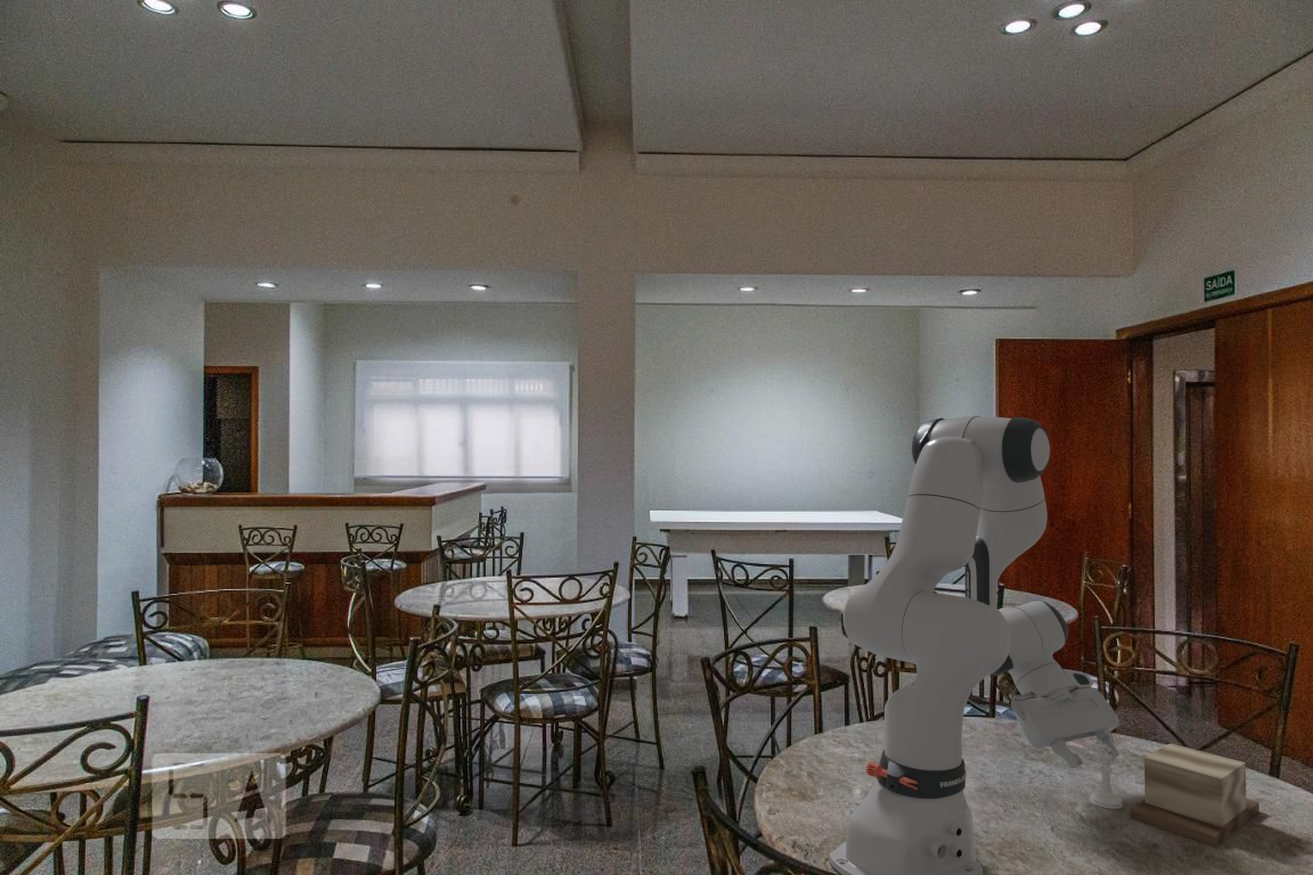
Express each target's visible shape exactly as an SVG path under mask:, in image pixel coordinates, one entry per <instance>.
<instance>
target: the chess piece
mask: <svg viewBox="0 0 1313 875" xmlns="http://www.w3.org/2000/svg"><path fill="white" fill-rule="evenodd" d="M1099 750H1100V751H1102V750H1103V751H1104V753H1103V752H1102V753H1098V757H1099V759H1100V763H1101V766H1099V767H1098V770H1099V771H1100V772H1102V775H1101V776H1102V777H1101V784H1100V790H1098V792H1092V793H1091V794H1090V796H1089V797H1090V798H1089V801H1090V802H1091V803H1092V804H1094V805H1096V806H1098V807H1101V808H1105V809H1110V810H1113V809H1114V810H1116V809H1122V808H1123V807H1124V805H1123V800H1122V799H1121V798H1120V797H1118V796H1117V795H1115V794H1114V792H1113V791H1112V787H1111V786H1112V785H1111V780H1110V774H1111V773H1114V770H1113V769H1112V768H1111V767H1110V765H1111V762H1112V761H1113V759H1112V756H1111V755H1110V754H1108V753H1107V751H1111V748H1109V747H1107V744H1104V746H1099Z"/></svg>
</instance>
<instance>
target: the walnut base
mask: <svg viewBox="0 0 1313 875" xmlns="http://www.w3.org/2000/svg"><path fill="white" fill-rule="evenodd" d="M1143 768H1144V799H1143V800H1142V801H1140V802H1139V803H1137V804H1136V805H1134V806H1132V807H1130V808H1129V809H1130V810H1129V811H1130V812H1129V815H1130V816H1129V818H1130V819H1132V820H1134V821H1138V822H1141V823H1144V824H1147V825H1150V826H1153V827H1156V828H1158V829H1162V830H1165V831H1167V832H1171V833H1174V834H1176V835H1179V836H1182V837H1185V838H1188V839H1191V840H1194V841H1197V842H1199V843H1202V844H1206V845H1208V846H1211V847H1215V848H1217V847H1218V846H1219V845H1220V844H1221V843H1223V842H1224V841H1225V840H1226V839H1228V838H1229V837H1230V836H1231V835H1232V834H1234V832H1236V831H1237V830H1238V829H1240V828H1241V827H1242V826H1243V825H1244V824H1245V823H1247V822H1248V821H1249V820H1250V819H1252V818H1253V817H1254V816H1255V815H1257V814H1258V813H1259V812H1260V801H1256V800H1252V799H1249V798H1247V780H1246V779H1247V778H1246V777H1247V774H1246V773H1247V772H1246V770H1247V769H1246V762H1244V761H1241V760H1237V759H1234V758H1233V759H1232V758H1230V757H1224V756H1221V755H1219V754H1215V753H1211V752H1207V751H1201V750H1198V749H1195V748H1192V747H1191V748H1190V747H1187V746H1183V745H1179V744H1176V743H1171V742H1170V743H1169V744H1167V745H1164V746H1163V747H1161V748H1159V749H1157V750H1156V751H1154V752H1152V753H1150V754H1148V755H1146V756H1145V757H1144V766H1143ZM1256 813H1257V814H1256Z"/></svg>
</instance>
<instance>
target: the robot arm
mask: <svg viewBox="0 0 1313 875" xmlns="http://www.w3.org/2000/svg"><path fill="white" fill-rule="evenodd" d="M1050 444H1051V442H1050V438H1049V435H1048V432H1047V430H1046V429H1045V428H1044V427H1043V425H1042V424H1040V423H1039V422H1038V421H1037V420H1035V419H1031V418H1027V417H1020V416H1014V417H1011V418H1009V417H1000V416H980V415H970V416H960V417H959V416H958V417H951V418H947V419H946V418H943V417H941V418H935V419H931V420H928V421H925V422H923V423H922V424H921V425H920V426H919V427H918V428H917V430H916V431H915V433H914V435H913V437H912V442H911V455H912V460H913V462H914V464H915V466H914V469H913V470H912V471H913V472H912V475H911V478H910V482H909V485H908V489H907V490H908V491H907V494H906V501H905V505H904V511H903V516H902V521H901V524H900V529H899V534H898V536H897V541H896V544H895V546H894V549H893V551H892V553H891V554H890V557H888V560H887V561H886V563H885V564H884V565H883V567H882V568H881V570H880V571H879V572H878V573H877V574H876V575H875V576H874V577H873V578H872V579H871V580H869V581H868V582H867V583H866V584H864V585H862V586H861V587H859V588H857V589H855V590H854V591H853V592H852V593H851V595H850V596H849V597H848V599H847V600H846V603H845V606H844V609H843V612H842V622H843V628H844V631H845V634H846V636H847V637H848V640H849V641H850V642H851V643H852V644H854V645H855V646H857V647H859V648H860V649H863V650H865V651H867V652H869V653H872V654H874V655H876V656H879V657H883V658H889V659H892V660H897V661H902V662H907V663H911V664H914V665H915V666H916V676H915V680H914V683H913V684H910V685H907V686H904V687H902V688H899V689H897V690H895V691H894V692H893V693H892V694H891V695H890V696H889V697H888V699H887V701H886V703H885V704H884V749H883V750H882V753H881V756H880V758H879V763H876V762H874V761H869V762H867V765H866V766H865V773H866V775H867V776H869V777H873V778H876V779H877V780H876V782H875V784H874V785H873V786H872V788H871V789H870V790H869V791H868V794H866V796H865V797H864V798H863V800H862V802H861V803H860V804H859V806H858V807H857V808H856V809H855V811H854V812H853V814H852V815H851V817H850V818H849V820H848V823H847V828H846V829H847V830H846V838H845V841H844V842H843V843H841V844H840V845H838V846H837V847H836V848H835V849H834V850H832V851H831V852H830V853H829V856H828V857H829V858H828V861H829V863H830V865H831V866H832V867H833V868H834V869H835V871H836V872H838V873H839V874H841V875H984V869H983V868H984V867H983V866H982V865H981V864H980V862H979V861H978V860H977V854H976V852H977V851H976V843H975V833H974V822H973V815H972V812H971V809H970V807H969V805H968V802H967V799H966V797H965V794H964V789H965V788H966V777H967V771H966V763H965V760H964V759H963V756H962V755H963V751H962V749H963V725H964V724H963V722H964V714H965V708H966V706H967V702H968V700H969V698H970V695H971V694H972V692H973V691H974V689H975V688H976V687H977V685H978V684H980V682H981V681H983V680H984V679H986V678H987V677H989V675H993V676H1000V675H1003V674H1004V673H1007V672H1008V674H1009V675H1010V676H1011V677H1012V680H1013V683H1014V686H1015V687H1016V688H1017V691H1019V693H1020V694H1015V695H1013V696H1012V699H1011V701H1010V702H1011V703H1010V707H1011V708H1012V710H1013V711H1014V713H1015V717H1016V719H1017V722H1018V724H1019V726H1020V729H1021V730H1022V732H1023V733H1024V734H1023V735H1024V736H1025V737H1026V740H1027V741H1028V742H1029V743H1030V745H1032V746H1033V747H1035V748H1036V749H1040V748H1044V747H1049V746H1050V748H1051V749H1052V750H1053V752H1054V753H1056V754H1057V755H1058V756H1060V757H1061V758H1062V759H1063V760H1065V762H1066V763H1067V764H1068V766H1069V767H1070V768H1071V769H1075V768H1079V767H1080V766H1082V765H1083V764H1084V762H1083V760H1082V758H1081V757H1080V755H1079V754H1078V752H1077V753H1074V752H1073V751H1072V750H1070V748H1068V746H1066V745H1067V743H1068V742H1069V743H1070V742H1074V741H1077V740H1082V739H1086V738H1091V737H1096V738H1097V740H1098V741H1099V742H1101V743H1102V745H1103V746H1102V747H1104V744H1107V747H1109V748H1111V751H1107V753H1108V754H1110V755H1111V756H1112V760H1113V759H1116V758H1118V757H1119V756H1120V752H1119V750H1118V749H1117V747H1116V746H1115V741H1114V738H1113V734H1112V733H1111V732H1112V731H1113V730H1115V729H1116V728H1117V727H1119V726H1120V721H1119V720H1120V719H1119V717H1118V715H1117V714H1116V712H1115V710H1114V709H1113V707H1112V706H1111V705H1110V704H1109V702H1108V701H1107V699H1106V698H1105V697H1104V695H1103V694H1102V693H1101V692H1100V691H1099V690H1098V689H1096V688H1094V687H1092V686H1093V685H1094V681H1093V680H1092V679H1091V677H1090V676H1089V675H1087V674H1085V673H1078V672H1074V671H1071V670H1069V669H1063V668H1062V667H1061V665H1060V664H1059V663H1058V662H1057V661H1056V660H1055V659H1054V656H1053V654H1054V653H1056V652H1059V650H1061V649H1062V648H1064V647H1065V645H1066V643H1067V641H1068V637H1069V626H1068V623H1067V621H1066V620H1065V618H1064V617H1063V615H1062V614H1061V612H1060V611H1059V610H1058V609H1057V608H1055V607H1054V606H1053V605H1051V604H1050V603H1048V602H1046V601H1043V600H1039V599H1038V600H1034V601H1030V602H1026V603H1023V604H1020V605H1017V606H1014V607H1012V606H1007V607H1001V608H999V609H998V601H997V600H998V590H997V588H998V587H997V586H998V581H999V579H1000V576H1001V575H1002V573H1003V572H1004V571H1005V569H1007V567H1009V565H1010V564H1011V563H1013V562H1014V560H1016V559H1017V558H1018V557H1019V556H1021V555H1022V554H1024V553H1025V552H1026V551H1028V550H1029V549H1031V548H1032V547H1033V546H1034V545H1035V544H1036V543H1037V542H1038V541H1039V540H1040V539H1041V537H1042V535H1043V534H1044V533H1045V530H1046V527H1047V523H1048V509H1047V502H1046V497H1045V492H1044V486H1043V482H1042V479H1041V475H1043V474H1044V473H1045V471H1046V470H1047V468H1048V467H1049V466H1048V465H1049V461H1050V457H1051V455H1050V454H1051V445H1050ZM962 568H964V583H965V584H964V589H965V590H964V592H965V593H964V594H965V595H964V596H960V595H952V594H946V593H938V592H934V591H935V589H936V587H937V585H938V584H939V583H940V581H941V580H942V579H943V578H945V577H946V576H947V575H948V574H951V573H952V572H955V571H958V570H961V569H962ZM1101 752H1102V753H1104V751H1103V750H1101Z"/></svg>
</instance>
